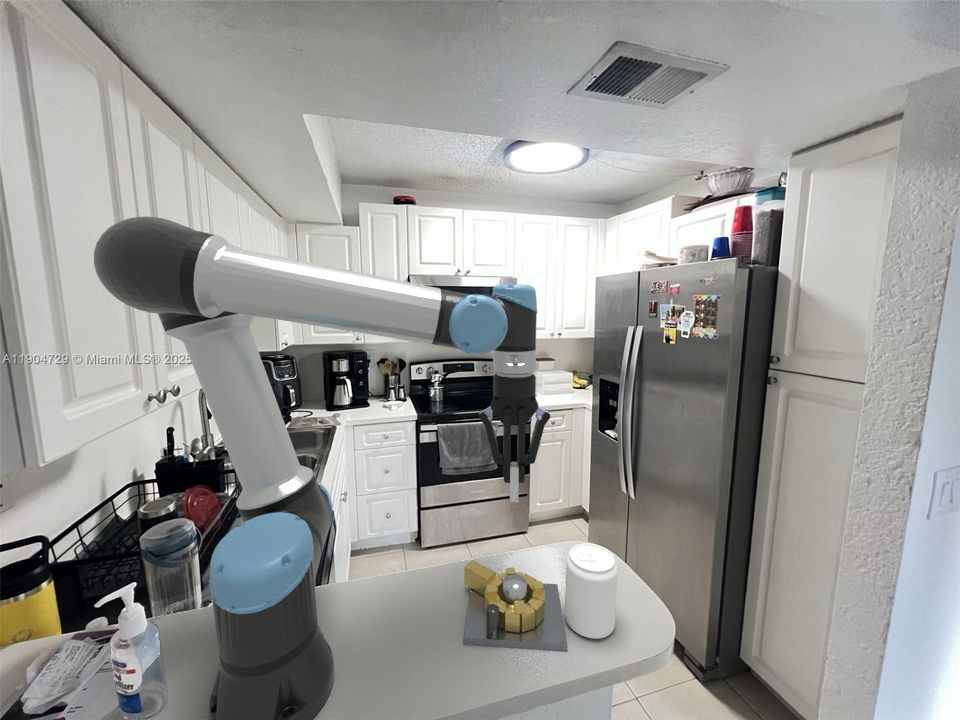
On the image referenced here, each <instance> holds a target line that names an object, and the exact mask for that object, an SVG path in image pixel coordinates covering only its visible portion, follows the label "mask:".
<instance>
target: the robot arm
mask: <svg viewBox="0 0 960 720" xmlns="http://www.w3.org/2000/svg"><path fill="white" fill-rule="evenodd" d="M93 266H94V269H95V273H96V275H97V278H98V279H99V281H100V282H101V284H102V286H104V288H105V289H106V291H108V292H109V293H110V294H111V295H112V296H113V297H114V298H115V299H116V300H118V301H120V302H121V303H124V305H127V306H128V307H131V308H133V309H136V310H137V311H141V312H146V313H151V314H157V315H158V318H159V320H160V323H161V325H162V327H163V329H164V333H165V334H166V335H167V336H170V337H172V338H173V339H174V338H175V339H177V340H180V341H181V342H182V343H183V345H184V347H185V349H186V352H187V355H188V357H189V359H190V361H191V364H192V367H193V369H194V372H195V374H196V377H197V379H198V382H199V384H200V387H201V389H202V391H203V394H204V396H205V397H204V398H205V399H206V401H207V403H208V406H209V409H210V411H211V414H212V417H213V419H214V421H215V423H216V426H217V429H218V431H219V434H220V436H221V439H222V442H223V443H224V446H225V448H226V451H227V454H228V455H229V458H230V461H231V463H232V465H233V469H234V471H235V473H236V476H237V478H238V481H239V484H240V486H241V489H242V490H241V492H240V494H239V496H238V497H237V499H236V501H235V505H236V508H237V510H238V512H239V515H240V518H241V520H242V523H243V524H242V526H236V527H234V528H233V529H231V530H229V532H228V533H226V534H225V536H223V538H221V540H220V541H219V542H218V544H217V545H216V546H215V548H214V550H213V553H212V554H211V559H210V562H209V563H210V564H209V569H210V571H209V580H208V585H209V586H208V587H209V592H210V596H211V599H212V600H211V601H212V607H213V616H214V623H215V624H214V625H215V631H216V639H217V648H218V654H219V665H218V669H217V673H216V675H215V680H214V683H213V687H212V691H211V693H210V698H209V703H208V710H207V711H208V720H313V719H314V718H315V717H316V716H317V714H318V713H319V712H320V711H321V709H322V708H323V706H324V705H325V703H326V702H327V700H328V698H329V696H330V694H331V692H332V689H333V685H334V680H335V665H334V655H333V651H332V649H331V646H330V645H329V643H328V641H327V640H326V639H325V637H324V635H323V632H322V631H321V628H320V626H319V624H318V610H317V597H316V596H317V595H316V579H317V573H318V569H319V565H320V562H321V561H320V560H321V558H322V555H323V551H324V549H325V548H324V547H325V544H326V540H327V537H328V534H329V532H330V529H331V526H332V522H333V513H334V512H333V502H332V497H331V495H330V493H329V491H328V489H327V488H326V487H325V486H324V484H322V483H321V482H320V481H317V479H316V476H315V474H314V470H313V469H311V468H310V467H306V466H304V465H302V464H300V461H299V459H298V456H297V454H296V451H295V448H294V445H293V443H292V440H291V437H290V434H289V432H288V429H287V426H286V424H285V420H284V419H283V415H282V412H281V409H280V406H279V403H278V401H277V399H276V396H275V393H274V390H273V387H272V385H271V382H270V379H269V376H268V374H267V372H266V369H265V366H264V362H263V360H262V359H261V355H260V352H259V350H258V346H257V343H256V341H255V338H254V336H253V333H252V329H251V328H250V327H251V323H252V322H253V320H254V318H255V317H258V318H265V319H272V320H278V321H284V322H290V323H297V324H302V325H309V326H316V327H323V328H327V329H332V330H333V329H334V330H341V331H346V332H353V333H359V334H366V335H373V336H379V337H386V338H391V339H397V340H403V341H409V342H410V341H411V342H415V343H423V344H428V345H435V346H437V347H445V348H451V349H457V350H461V351H463V352H464V353H467V354H472V355H485V354H488V353H491V352H492V367H493V368H492V371H493V372H494V375H493V376H492V379H493V380H492V382H493V383H492V389H493V390H492V391H493V393H492V394H493V396H492V397H493V398H492V399H491V402H490V405H489V406H488V407H487V408H485V409H480V410H479V413H478V418H479V420H480V421H481V423H482V424H483V425H484V427H485V431H486V436H487V439H488V443H489V448H490V451H491V454H492V459H493V462H494V464H495V465H501V466H502V467H503V482H504V483H505V484H509V501H510V503H512V502H513V503H519V495H520V494H519V487H520V486H519V484H523V483H525V480H526V479H525V475H526V474H525V472H526V471H525V470H526V466H527V465H533V464H535V462H536V459H537V455H538V452H539V448H540V445H541V440H542V436H543V433H544V429H545V426H546V425H547V423H548V422H549V420H551V414H550V412H549V411H548V409H544V408H542V407H540V406H539V403H538V400H537V396H536V395H537V392H536V391H537V389H536V386H537V385H536V384H537V383H536V382H537V377H536V375H535V374H534V373H535V372H536V371H537V359H536V358H537V357H536V356H537V355H536V354H537V345H536V344H537V318H538V317H537V314H538V308H537V307H538V305H537V303H538V302H537V291H536V289H535V287H534V286H533V285H531V284H496V285H494V287H493V288H492V294H491V296H490V295H489V296H486V295H484V294H479V293H474V294H469V293H463V292H460V291H459V292H457V291H454V290H449V289H441V288H439V287H434V286H429V285H423V284H419V283H414V282H410V281H403V280H399V279H393V278H389V277H383V276H379V275H374V274H369V273H364V272H359V271H354V270H353V271H352V270H349V269H348V270H347V269H344V268H339V267H335V266H329V265H324V264H318V263H313V262H308V261H304V260H300V259H299V260H298V259H293V258H287V257H284V256H277V255H273V254H267V253H264V252H258V251H253V250H247V249H243V248H238V247H234V246H232V245H231V244H230V243H229V242H228V240H227V239H226V238H224V236H222V235H218V234H213V233H208V232H204V231H200V230H196V229H193V228H191V227H188V226H186V225H183V224H181V223H178V222H176V221H172V220H169V219H168V218H167V219H166V218H163V217H158V216H157V217H155V216H135V217H129V218H126V219H123V220H120V221H118V222H117V223H115V224H113V225H111V226H110V227H108V229H106V230H105V231H104V232H103V233H102V234H101V235H100V237H99V239H98V240H97V242H96V244H95V247H94V251H93ZM493 413H494V415H495V417H497V418H498V420H499V421H500V423H501V424H503V446H502V447H503V448H502V449H503V454H501V453H500V449H499V446H498V441H497V437H496V434H495V429H494V426H493V422H492V420H493ZM534 415H535V418H536V420H535V424H534V427H533V428H534V429H533V431H532V435H531V439H530V442H529V446H528V450H527V454H526V424H527V423H528V422H529V421H530V420H531V418H533V416H534ZM512 426H516V427H517V430H516V431H517V447H516V448H517V449H516V451H517V454H516V455H517V458H516V459H517V461H511V460H512V459H511V457H512V456H511V451H512V449H511V448H512V447H511V445H512V443H511V441H512V440H511V439H512V435H511V434H512Z"/></svg>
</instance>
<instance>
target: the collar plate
mask: <svg viewBox="0 0 960 720" xmlns="http://www.w3.org/2000/svg"><path fill="white" fill-rule="evenodd" d="M542 584H543V587H544V590H545V607H544V618H543V620H542V621H541V622H540V623H539V624H538V626H537V627H536V626H535V628H533V629H530V630H527V631H524V632H521V630H520V632H512V631H505V628H504V629H501V628H499V607H498V606H497V605H495V604H490V605H488V606H487V608H486V612H485V596H483V595H482V594H480V593H478V592H477V591H475V590H473V589H472V588H470V590H469V599H468V606H467V612H466V614H467V615H466V621H465V627H464V636H463V645H465V646H466V645H467V646H483V647H496V648H510V649H511V648H512V649H529V650H546V651H559V652H561V651H562V652H567V651H568V639H567V633H566V632H567V631H566V627H565V621H564V615H563V614H564V613H563V609H562V604H561V597H560V593H559V586H558V583H544V582H542ZM500 600H502V601H503V602H505V603H507V604H509V605H514V601H520V600H524V604H526V603H528V602H529V600H528V599H527V581H526V579H525V578H524V577H523V576H521V575H517V574H511V575H508V576H506V577H505V578H504V580H503V598H501V599H500Z"/></svg>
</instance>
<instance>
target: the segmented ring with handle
mask: <svg viewBox="0 0 960 720" xmlns="http://www.w3.org/2000/svg"><path fill="white" fill-rule="evenodd" d="M511 574H517V575H521V576H523V577H524V578H525V579H526V581H527V599H528V600H529V602H528V603H526V604H524V600H520V601H514V605H509V604H507V603H505V602H503V601H502V600H500V599H501V598H503V580H504V578H505V577H506V576H508V575H511ZM463 579H464V580H463V584H464V585H466V586H467V587H468V588H470V589H471V588H472V589H473V590H475V591H477V592H478V593H480V594H482V595H483V596H485V612H486V608H487V606H488V605H490V604H495V605H497V606H498V607H499V628H501V629H504V628H505V631H512V632H520V630H521V632H524V631H527V630H530V629H533V628H535V626H536V627H537V626H538V624H539V623H540V622H541V621H542V620H543V618H544V607H545V590H544V587H543V584H542V583H543V581H541V580H540V581H539V580H537V578H535V577H533V576H532V575H530V574H528V573H524V572H520V571H519V572H518V571H516V569H515V567H506V568H505V572H502V573H498V574H497V573H496V571H494V570H492V569H491V568H488V567H487V566H485V565H483V564H481V563H479V562H478V561H476V560H474V559H472V560H470V561H469V562H467V564H465V565H464V566H463Z"/></svg>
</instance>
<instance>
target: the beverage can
mask: <svg viewBox="0 0 960 720" xmlns="http://www.w3.org/2000/svg"><path fill="white" fill-rule="evenodd" d="M565 565H566V566H565V593H564V594H565V595H564V596H565V597H564V598H565V599H564V618H565V620H566V622H567V624H568V627H570V628H571V629H572V630H573V631H574V632H576V634H579V635H580V636H582V637H586V638H589V639H597V640H598V639H602V638H603V639H604V638H606V637H608V636H610V635H611V634H612V633H613V632H614V629H615V627H616V609H617V608H616V607H617V593H618V592H617V591H618V590H617V588H618V575H619V574H618V571H619V569H618V565H617V563H616V560H615V556H614V554H612V552H611V551H610V550H609V549H607V548H606V547H603V546H601V545H598V544H594V543H589V542H588V543H587V542H585V543H578V544H576V545H574V546H573V547H572V548H571V549H570V550H569V553H568V555H567V557H566V564H565Z"/></svg>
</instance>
